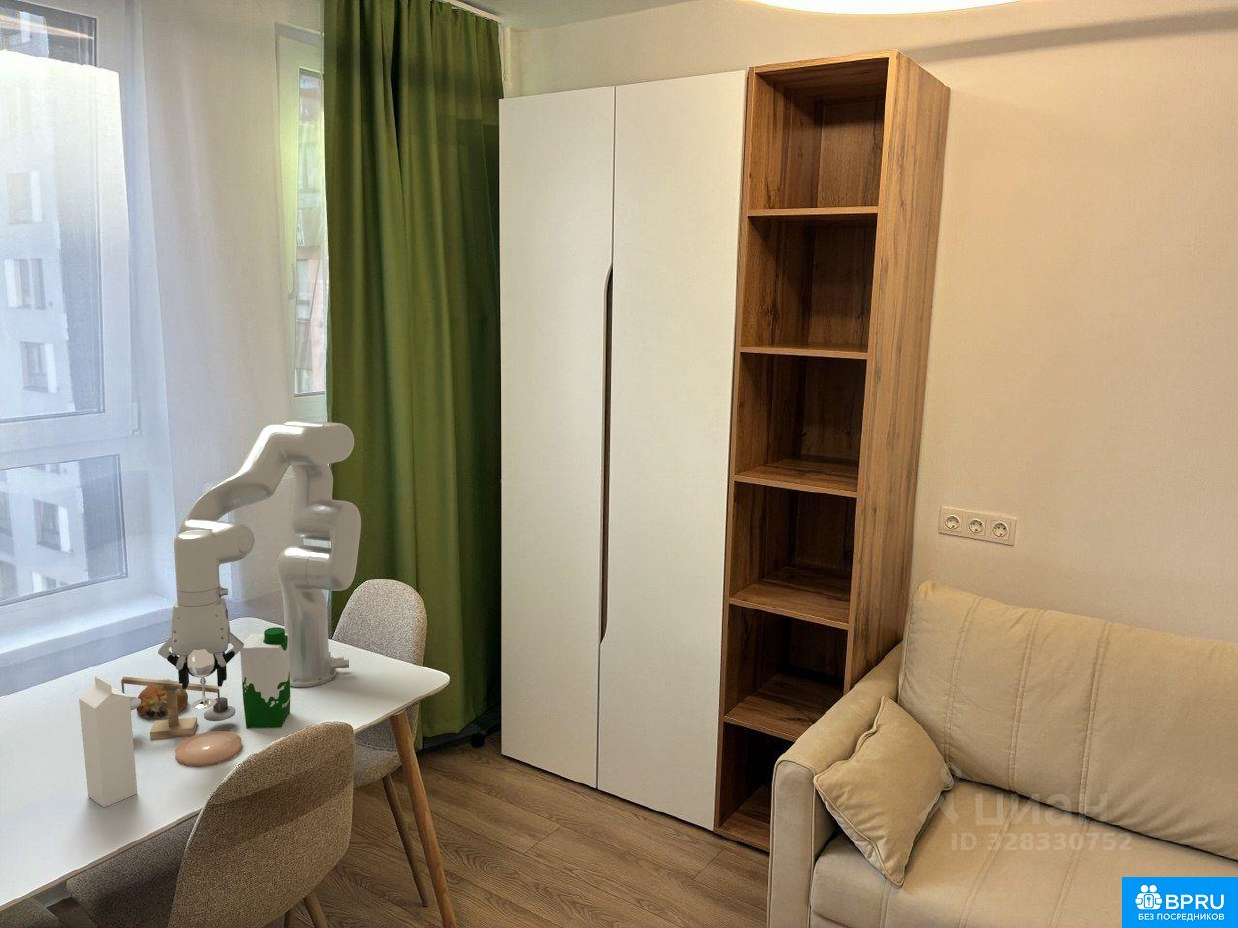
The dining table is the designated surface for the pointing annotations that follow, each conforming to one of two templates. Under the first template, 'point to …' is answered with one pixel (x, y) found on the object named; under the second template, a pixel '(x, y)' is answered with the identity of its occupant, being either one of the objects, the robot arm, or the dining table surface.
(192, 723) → the balance
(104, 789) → the milk
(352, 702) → the dining table surface
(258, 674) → the milk carton
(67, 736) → the dining table surface
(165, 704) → the bread roll
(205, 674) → the wineglass
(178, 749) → the dish
